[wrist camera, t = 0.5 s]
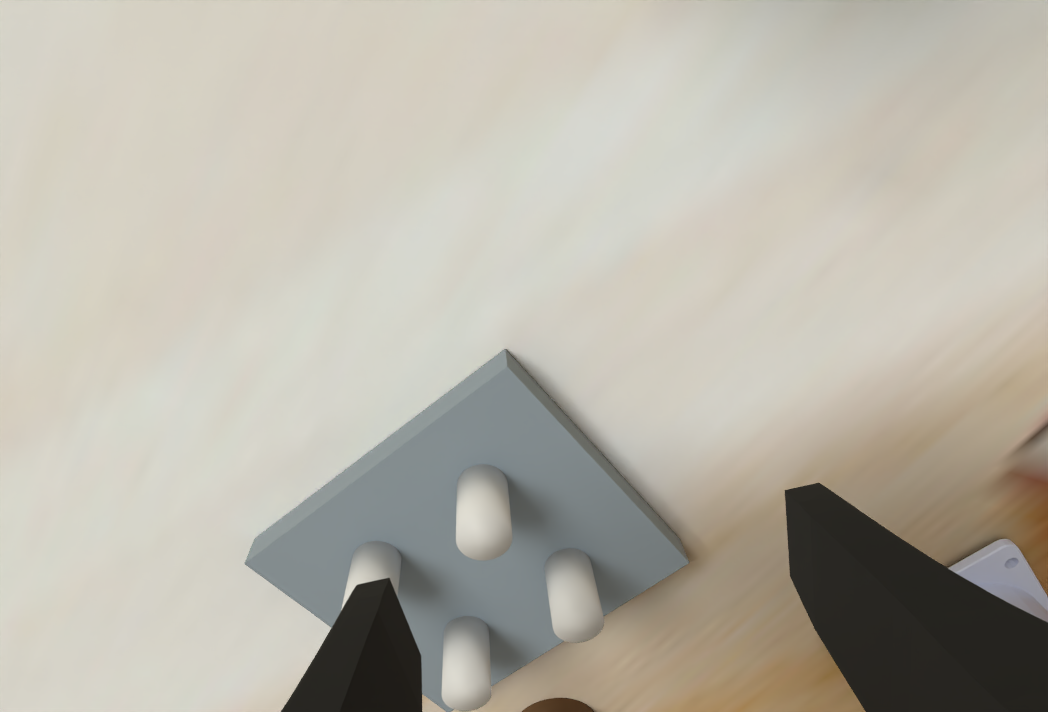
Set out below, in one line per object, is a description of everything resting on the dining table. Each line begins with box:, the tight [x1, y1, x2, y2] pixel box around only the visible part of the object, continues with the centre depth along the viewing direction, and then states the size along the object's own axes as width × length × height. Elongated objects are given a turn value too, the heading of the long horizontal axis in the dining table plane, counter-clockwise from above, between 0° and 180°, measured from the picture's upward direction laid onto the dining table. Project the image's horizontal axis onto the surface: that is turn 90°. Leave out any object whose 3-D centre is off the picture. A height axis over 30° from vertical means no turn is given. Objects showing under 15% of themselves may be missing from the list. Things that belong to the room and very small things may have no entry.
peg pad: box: [245, 349, 689, 712], centre depth 23 cm, size 10×11×4 cm
